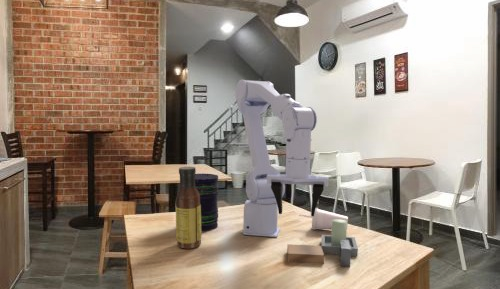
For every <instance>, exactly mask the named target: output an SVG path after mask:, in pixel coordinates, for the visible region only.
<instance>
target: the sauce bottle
mask: <svg viewBox="0 0 500 289" xmlns="http://www.w3.org/2000/svg"><path fill="white" fill-rule="evenodd" d="M196 171H197V169H196V167H195V166H182V167H179V168H178V174H179V188H178V192H177V194H176V198H175V200H174V201H175V205H174V206H175V207H174V208H175V234H176V235H175V236H176V239H175V240H176V242H177V243H176V245H177V246H178V247H179V248H180V249H185V250H190V249H196V248H198V247H200V246H201V244H202V231H201V204H200V194H199V191H198V189H197V188H196V187H195V174H197V173H196Z"/></svg>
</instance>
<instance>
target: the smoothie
mask: <svg viewBox="0 0 500 289" xmlns="http://www.w3.org/2000/svg"><path fill="white" fill-rule="evenodd" d="M298 217H305V218H311V229H312V230H315V231H316V230H332V220H335V219H340V220H345V221H347V226H348V224H349V216H346V215H343V214H339V213H335V212H330V211H327V210H324V209H319V207H316V208H315V213H314V216H311V214H310V215H309V214H302V213H299V214H298Z"/></svg>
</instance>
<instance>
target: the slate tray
mask: <svg viewBox="0 0 500 289" xmlns="http://www.w3.org/2000/svg"><path fill="white" fill-rule="evenodd" d="M331 236H332V234H331V235H330V234H329V235H328V234H321V239H320V240H321V241H320V244H321V245H320V246H321V247H322V250H323V253H324V254H328V255H337V256H338V255H339V254H340V246H331ZM346 240H349V243H350V248H351V257H358V255H359V254H358V252H359V248H358V245H357V241H356V238H355V237H354V236H346Z"/></svg>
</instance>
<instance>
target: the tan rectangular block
mask: <svg viewBox="0 0 500 289" xmlns="http://www.w3.org/2000/svg"><path fill="white" fill-rule="evenodd" d="M286 247H287V249H286V250H287V251H286V254H287V262H288V263H295V264H298V263H299V264H300V263H301V264H314V265H315V264H316V265H317V264H319V265H320V264H321V265H323V264H325V263H324V262H325V253H323V250H322V247H321V245H311V244H292V243H291V244H290V243H289V244H287V246H286Z"/></svg>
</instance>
